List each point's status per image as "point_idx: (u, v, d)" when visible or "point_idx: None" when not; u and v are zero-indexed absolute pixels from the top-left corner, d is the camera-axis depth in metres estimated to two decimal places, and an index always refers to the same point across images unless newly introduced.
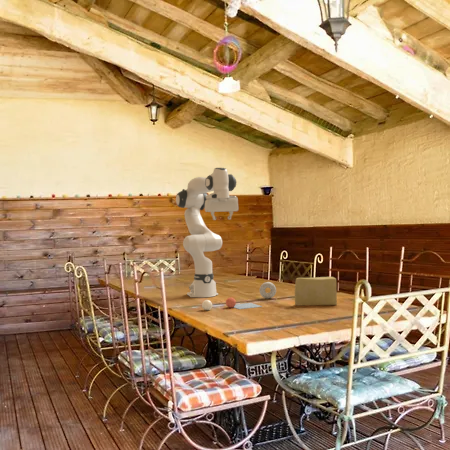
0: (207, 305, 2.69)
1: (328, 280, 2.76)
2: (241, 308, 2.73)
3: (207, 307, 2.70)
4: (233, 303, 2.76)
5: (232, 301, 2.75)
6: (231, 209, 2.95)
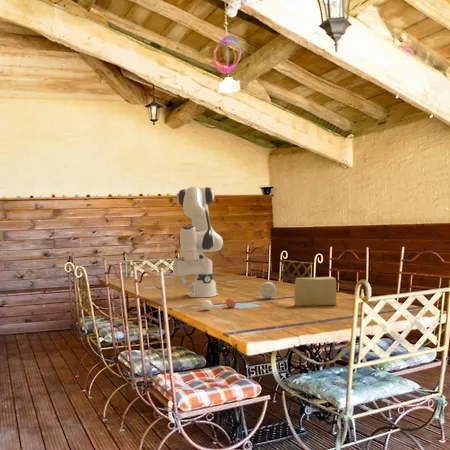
0: (207, 305, 2.69)
1: (328, 280, 2.76)
2: (241, 308, 2.73)
3: (207, 307, 2.70)
4: (233, 303, 2.76)
5: (232, 301, 2.75)
6: None
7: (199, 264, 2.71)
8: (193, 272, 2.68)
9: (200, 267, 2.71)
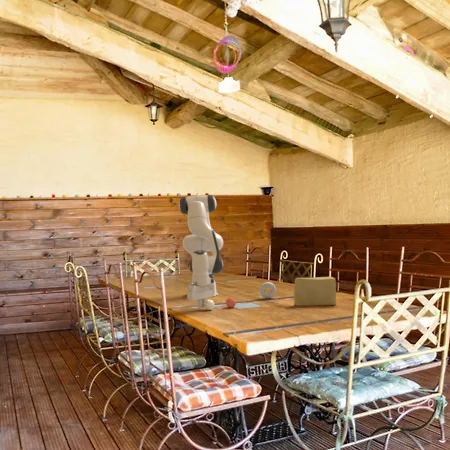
0: (209, 305, 2.70)
1: (327, 280, 2.76)
2: (241, 308, 2.73)
3: (209, 307, 2.70)
4: (233, 303, 2.76)
5: (232, 301, 2.75)
6: None
7: (209, 288, 2.75)
8: (205, 296, 2.71)
9: (210, 291, 2.75)
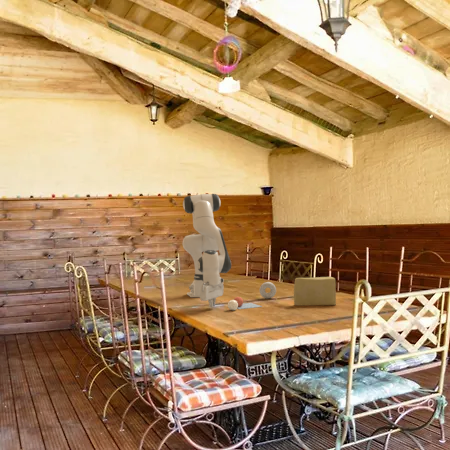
0: None
1: (327, 280, 2.76)
2: (241, 308, 2.73)
3: (230, 309, 2.69)
4: (239, 303, 2.77)
5: (241, 302, 2.78)
6: None
7: (219, 287, 2.78)
8: (216, 296, 2.74)
9: (220, 290, 2.78)
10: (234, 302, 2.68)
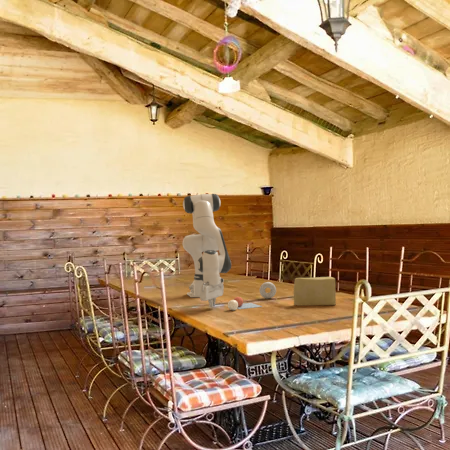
0: None
1: (327, 280, 2.76)
2: (241, 308, 2.73)
3: (230, 309, 2.69)
4: (239, 303, 2.77)
5: (241, 302, 2.78)
6: None
7: (219, 287, 2.78)
8: (216, 296, 2.74)
9: (220, 290, 2.78)
10: (234, 302, 2.68)
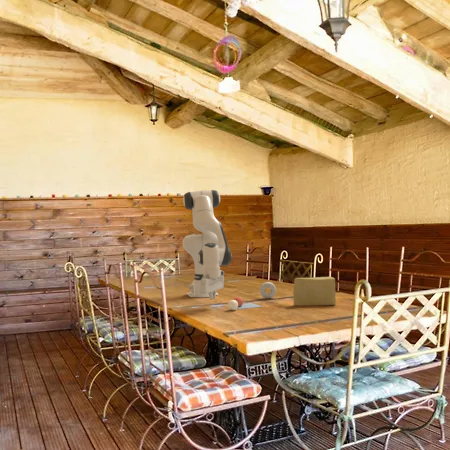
0: None
1: (327, 280, 2.76)
2: (241, 308, 2.73)
3: (230, 309, 2.69)
4: (239, 303, 2.77)
5: (241, 302, 2.78)
6: None
7: (219, 280, 2.78)
8: (216, 288, 2.74)
9: (220, 283, 2.78)
10: (234, 302, 2.68)
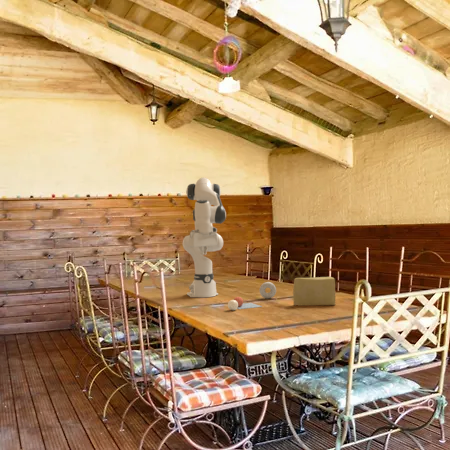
0: None
1: (327, 280, 2.76)
2: (241, 308, 2.73)
3: (230, 309, 2.69)
4: (239, 303, 2.77)
5: (241, 302, 2.78)
6: None
7: (212, 237, 2.86)
8: (207, 244, 2.82)
9: (213, 240, 2.86)
10: (234, 302, 2.68)
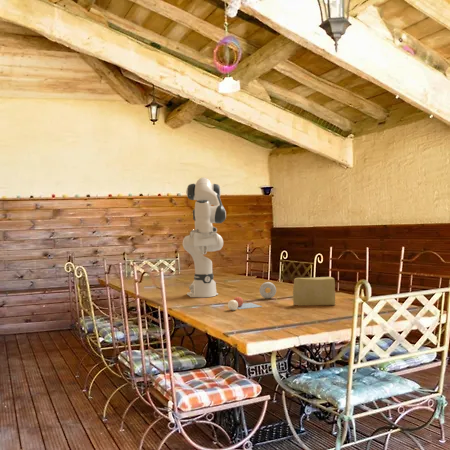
0: None
1: (326, 280, 2.76)
2: (241, 308, 2.73)
3: (230, 309, 2.69)
4: (239, 303, 2.77)
5: (241, 302, 2.78)
6: None
7: (212, 237, 2.86)
8: (207, 244, 2.82)
9: (213, 239, 2.86)
10: (234, 302, 2.68)
